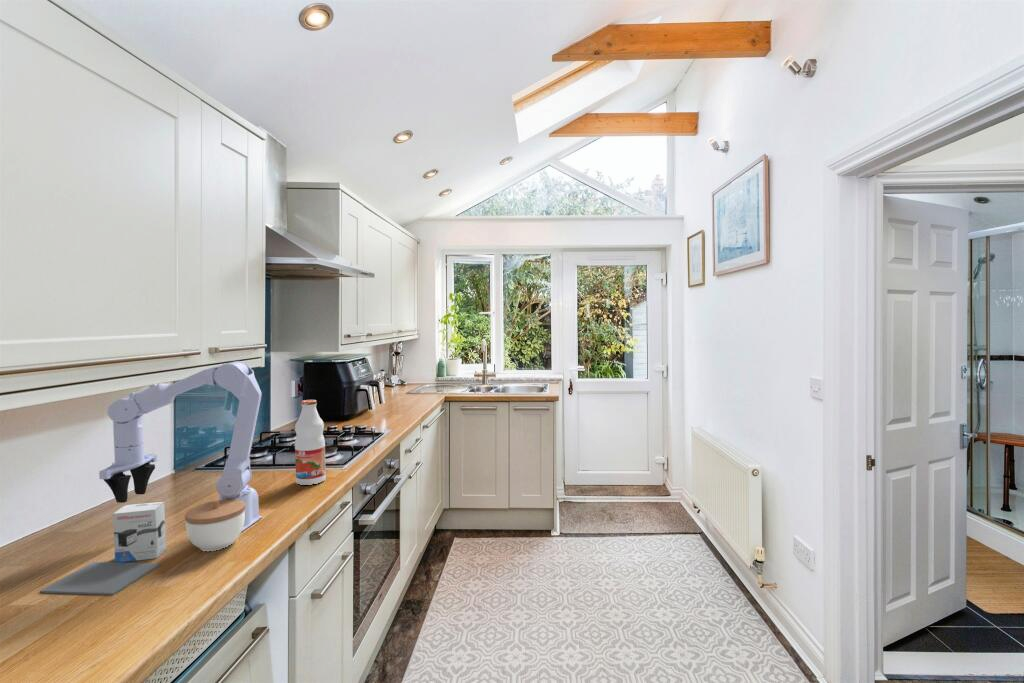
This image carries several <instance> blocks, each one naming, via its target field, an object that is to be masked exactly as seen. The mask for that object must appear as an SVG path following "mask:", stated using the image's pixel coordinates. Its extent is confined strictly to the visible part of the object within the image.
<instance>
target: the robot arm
mask: <svg viewBox="0 0 1024 683" xmlns="http://www.w3.org/2000/svg"><path fill="white" fill-rule="evenodd" d="M150 385H151V384H150ZM203 385H209V386H216V385H218V386H219V387H221V388H222V389H224V390H226V391H228V392H230V393H232V394H233V395H234V397H236V398H237V399H238V400H239V401H238V406H237V412H236V416H235V421H234V422H235V423H234V427H233V433H232V437H231V443H230V447H229V451H228V456H227V460H226V462H225V465H224V468H223V470H222V471H223V472H222V474H221V476H219V479H218V480H217V482H216V484H215V488H216V489H215V490H216V492H217V494H219V496H218V497H219V498H218V500H223V499H238V500H242V501H244V502H245V522H244V526H243V529H242V531H241V533H243V531H245V530H246V529H248V528H249V527H251V526H252V525H254V524H255V523H256V522H258V521H259V520H260V518H261V517H262V518H263V516H262V515H260V514H259V513H260V512H259V511H260V510H259V495H258V492H257V491H256V489H255V488H253V487H251V486H250V485H249V482H251V479H252V476H253V475H252V469H251V462H252V461H251V458H250V456H251V451H252V446H253V441H254V435H255V430H256V424H257V420H258V415H259V409H260V405H261V400H262V394H263V393H262V391H261V389H260V385H259V383H258V381H257V379H256V377H255V372H254V369H252V368H251V367H250V366H249V365H248V364H246V363H245V362H243V361H240V360H237V361H231V362H229V363H224V364H221V365H218V366H213V367H209V368H205V369H203V370H201V371H198V372H196V373H194V374H193V373H192V374H191V375H189V376H187V377H184V378H183V379H181V380H178V381H176V382H174V383H171V384H167V383H162V382H160V383H157V384H155V385H151V386H149V385H148V388H145V389H143V390H140V391H138V392H135V391H133V392H130V393H129V394H128V396H127V397H124V398H118V399H116V400H115V401H113V402H112V403H111V404H110V405H109V406H108V408H107V415H108V417H109V419H110V420H112V426H113V427H112V428H113V429H112V430H113V431H112V432H113V433H112V434H113V451H114V462H112V463H111V465H110V466H108V467H106V468H104V469H102V470H99V474H98V476H99V479H100V480H103V481H104V483H106V484H107V486H108V487H109V488H110V490H111V492H112V493H113V496H114V499H115V500H116V503H121V504H124V503H126V502H128V496H129V495H128V494H129V490H128V488H129V483H130V480H131V478H132V480H133V487H134V488H133V489H134V493H135V495H145V494H146V492H147V487H148V483H149V481H150V479H151V476H152V474H153V472H154V471H155V469H156V465H155V464H153V463H156V462H157V461H158V456H157V453H149V454H146V455H144V454H145V452H144V434H143V433H144V431H143V430H144V429H143V415H146V414H149V413H152V412H154V411H156V410H159V409H161V408H163V407H165V406H168V405H171V404H172V403H173V402H174V400H175V398H176V397H177V395H181V394H183V393H185V392H188V391H190V390H191V391H192V390H193V389H196V388H198V387H201V386H203ZM126 472H130V475H129V474H125V473H126ZM262 518H261V519H262ZM253 523H254V524H253Z"/></svg>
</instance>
